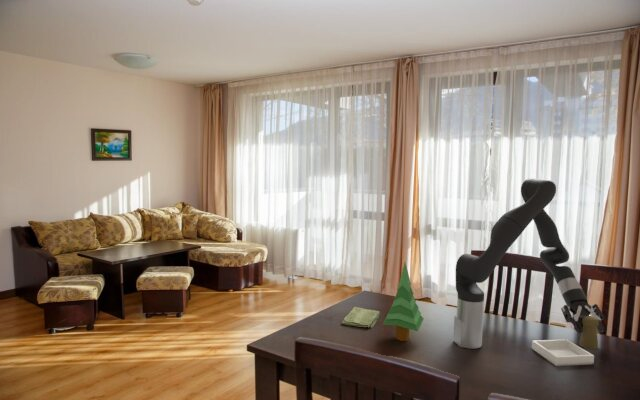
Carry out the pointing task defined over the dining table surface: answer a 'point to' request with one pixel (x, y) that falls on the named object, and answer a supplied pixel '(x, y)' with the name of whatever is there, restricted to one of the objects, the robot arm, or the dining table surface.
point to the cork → (589, 333)
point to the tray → (562, 352)
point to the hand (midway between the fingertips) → (591, 332)
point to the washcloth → (361, 318)
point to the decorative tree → (404, 309)
